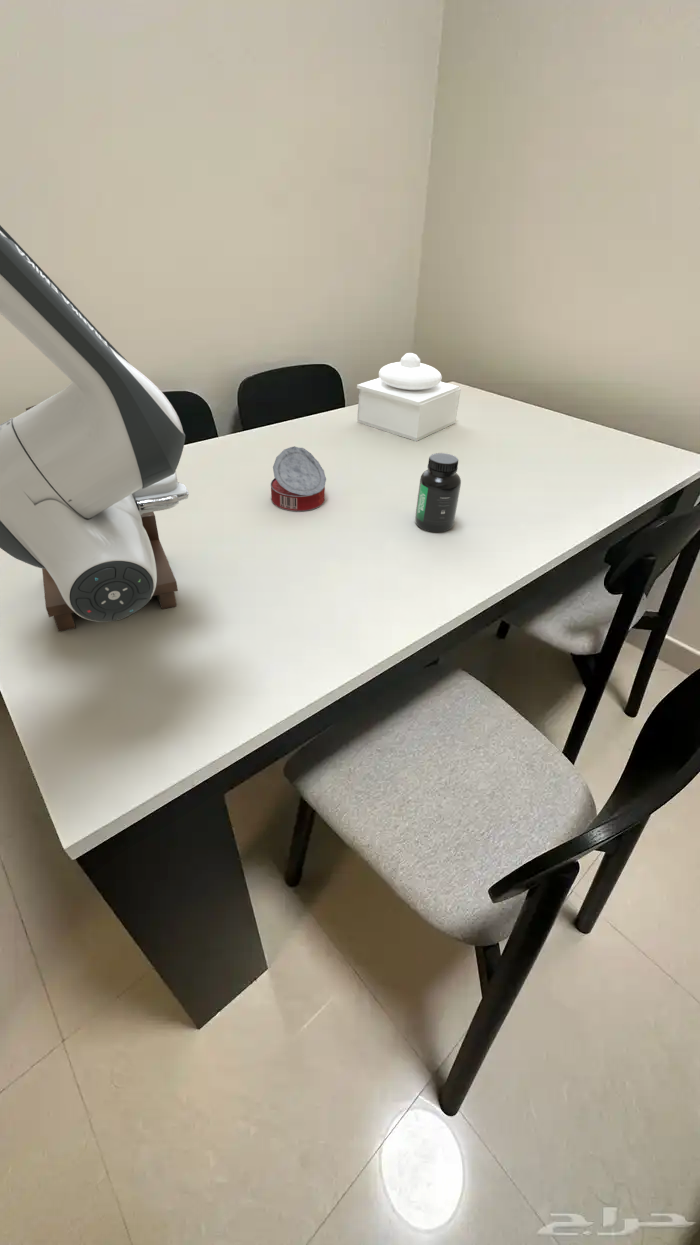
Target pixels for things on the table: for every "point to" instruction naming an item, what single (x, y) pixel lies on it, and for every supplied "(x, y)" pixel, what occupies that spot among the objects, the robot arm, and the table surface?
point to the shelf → (163, 591)
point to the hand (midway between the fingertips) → (81, 464)
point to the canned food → (297, 481)
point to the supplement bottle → (438, 494)
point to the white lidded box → (408, 400)
